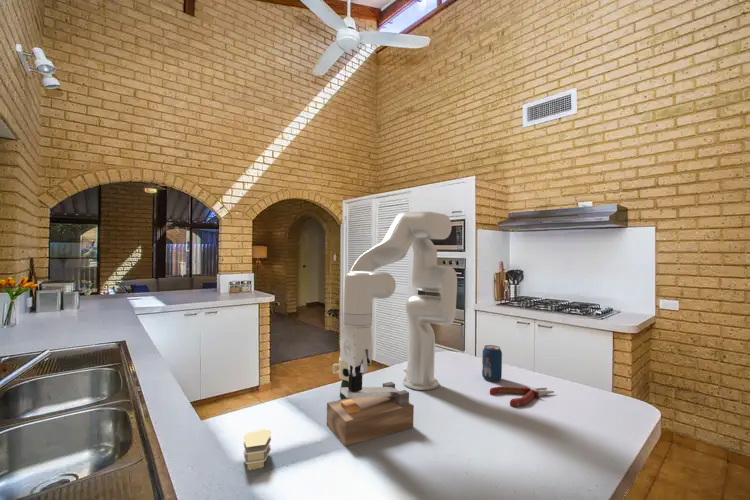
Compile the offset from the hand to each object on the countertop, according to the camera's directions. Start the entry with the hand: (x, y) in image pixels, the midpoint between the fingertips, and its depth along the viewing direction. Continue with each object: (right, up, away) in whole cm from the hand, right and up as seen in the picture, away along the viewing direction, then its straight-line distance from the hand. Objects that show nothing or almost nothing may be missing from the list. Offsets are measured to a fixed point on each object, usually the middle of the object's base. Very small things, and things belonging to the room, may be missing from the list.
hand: (355, 389), depth 95 cm
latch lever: (+4, -2, +3) cm, 6 cm away
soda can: (+49, -12, +41) cm, 65 cm away
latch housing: (+4, -11, +3) cm, 12 cm away
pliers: (+55, -13, +23) cm, 61 cm away
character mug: (-3, -11, +21) cm, 24 cm away
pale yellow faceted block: (-21, -11, -14) cm, 28 cm away
